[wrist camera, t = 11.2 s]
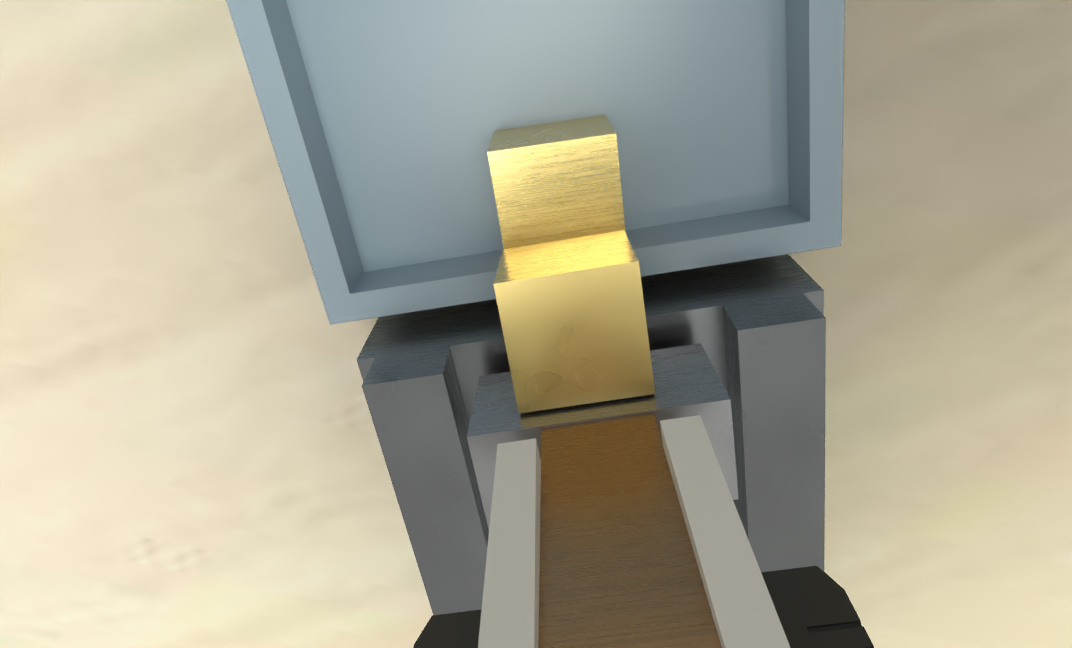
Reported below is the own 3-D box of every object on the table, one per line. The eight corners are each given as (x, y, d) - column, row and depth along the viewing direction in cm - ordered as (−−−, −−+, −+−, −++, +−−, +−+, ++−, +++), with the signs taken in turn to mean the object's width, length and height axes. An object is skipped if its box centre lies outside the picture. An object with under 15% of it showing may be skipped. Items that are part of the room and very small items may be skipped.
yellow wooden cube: (615, 221, 20) (604, 114, 19) (627, 256, 17) (616, 133, 16) (512, 236, 20) (494, 130, 19) (507, 272, 17) (487, 152, 16)
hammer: (701, 342, 17) (984, 879, 6) (709, 430, 18) (968, 1039, 7) (479, 376, 18) (363, 935, 6) (498, 459, 19) (422, 1076, 7)
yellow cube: (624, 230, 17) (638, 261, 14) (638, 343, 18) (655, 393, 15) (502, 249, 17) (493, 284, 14) (523, 360, 18) (518, 413, 15)
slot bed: (774, 240, 21) (847, 313, 16) (786, 692, 29) (837, 834, 24) (387, 300, 22) (341, 388, 17) (504, 722, 30) (497, 865, 25)
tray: (804, -236, 16) (848, -275, 14) (807, 219, 21) (841, 246, 18) (229, -118, 17) (182, -136, 15) (351, 290, 22) (329, 324, 19)
